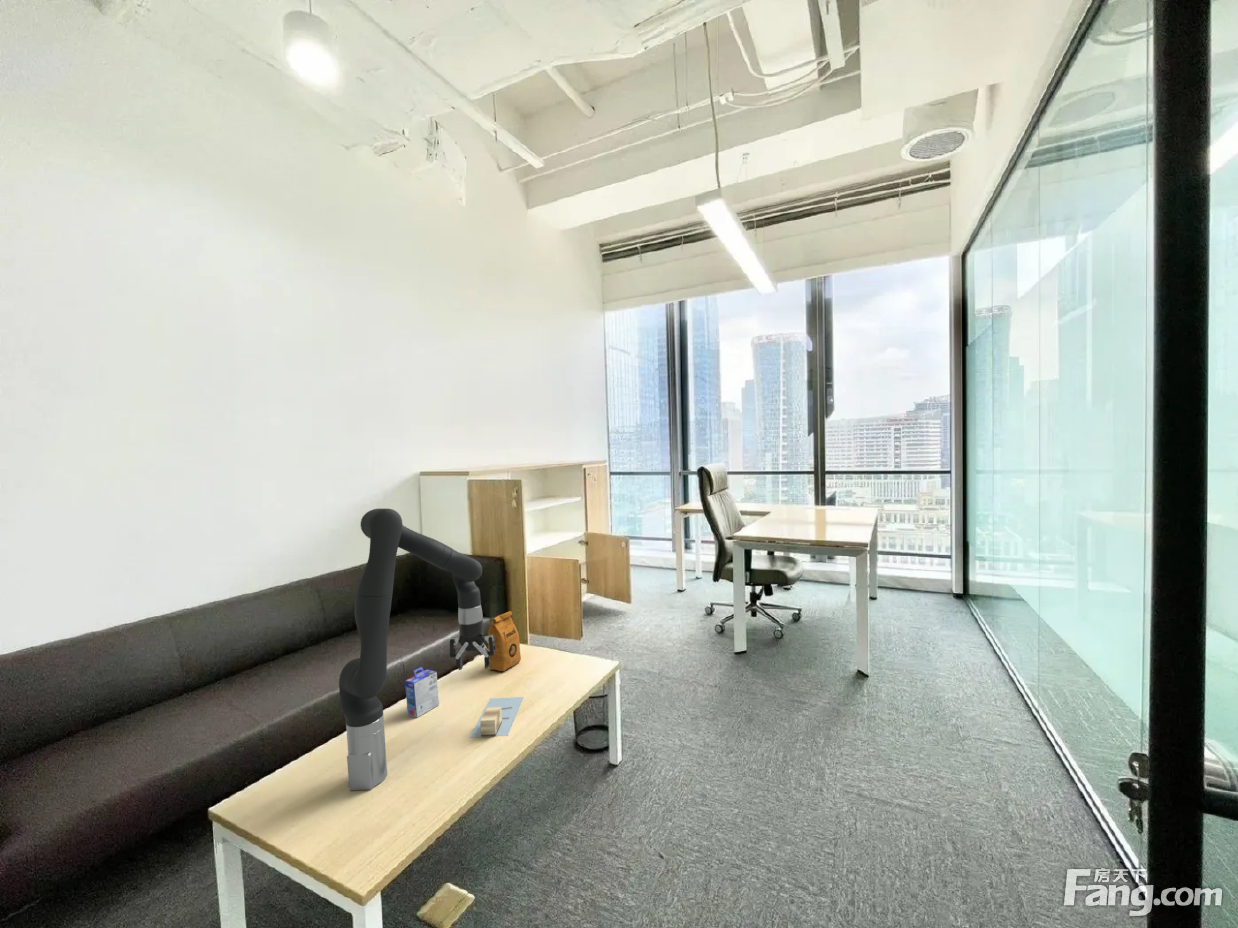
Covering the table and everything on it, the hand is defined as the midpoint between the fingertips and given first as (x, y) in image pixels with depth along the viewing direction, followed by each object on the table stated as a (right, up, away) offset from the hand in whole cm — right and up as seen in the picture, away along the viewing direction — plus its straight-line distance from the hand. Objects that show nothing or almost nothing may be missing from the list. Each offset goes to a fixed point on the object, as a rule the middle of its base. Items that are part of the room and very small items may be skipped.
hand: (473, 668), depth 163 cm
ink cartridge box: (-21, -20, +12) cm, 32 cm away
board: (+7, -18, +3) cm, 20 cm away
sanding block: (+7, -17, -5) cm, 19 cm away
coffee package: (0, -18, +45) cm, 48 cm away
